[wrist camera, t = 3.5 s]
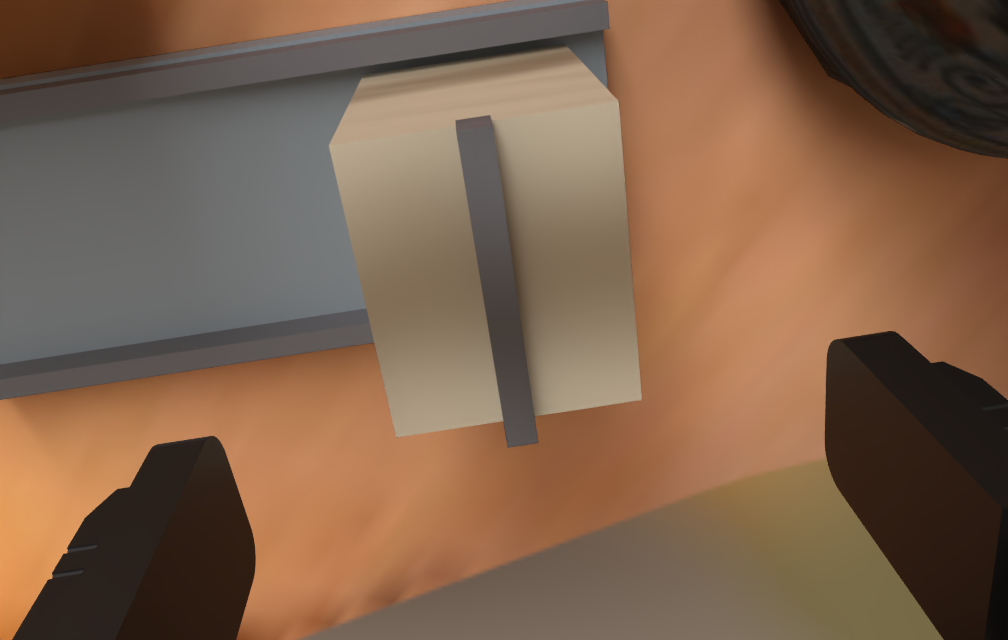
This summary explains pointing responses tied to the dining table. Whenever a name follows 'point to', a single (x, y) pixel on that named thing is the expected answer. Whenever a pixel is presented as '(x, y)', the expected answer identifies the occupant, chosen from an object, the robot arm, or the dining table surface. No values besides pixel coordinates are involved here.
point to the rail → (208, 194)
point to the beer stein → (919, 63)
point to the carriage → (491, 239)
